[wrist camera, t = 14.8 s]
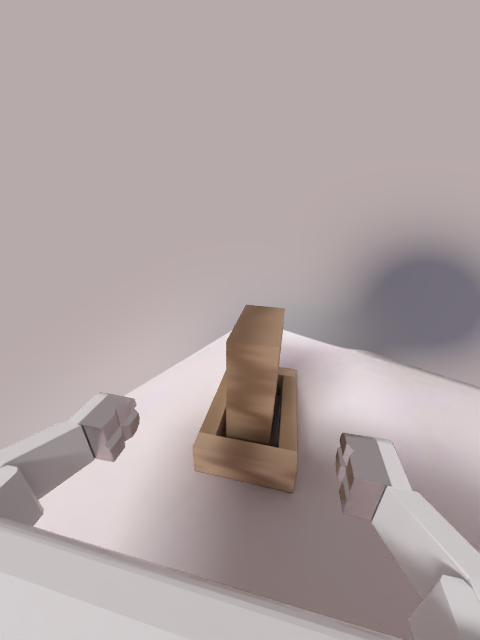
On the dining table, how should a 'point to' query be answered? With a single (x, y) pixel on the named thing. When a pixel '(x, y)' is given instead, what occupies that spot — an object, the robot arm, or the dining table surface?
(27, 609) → the robot arm
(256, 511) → the dining table surface
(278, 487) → the wooden rectangular frame
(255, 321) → the block
